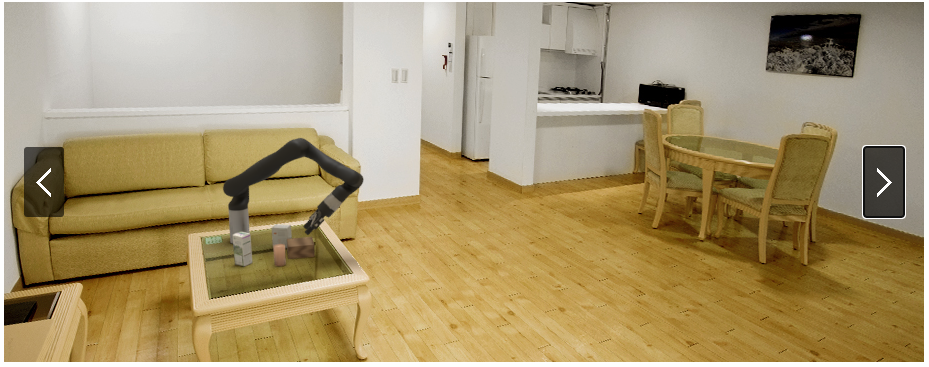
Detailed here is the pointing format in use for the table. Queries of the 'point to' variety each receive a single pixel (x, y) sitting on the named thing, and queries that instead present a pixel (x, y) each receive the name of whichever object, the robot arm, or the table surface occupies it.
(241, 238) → the syrup box
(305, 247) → the walnut block
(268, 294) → the table surface
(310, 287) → the table surface
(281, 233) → the small box
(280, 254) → the terracotta cylinder
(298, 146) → the robot arm
